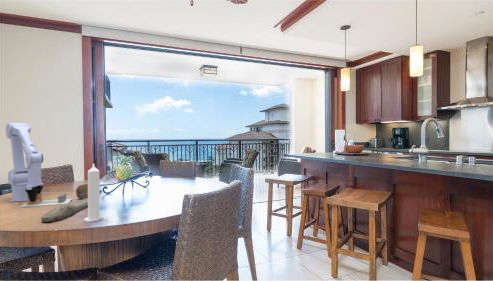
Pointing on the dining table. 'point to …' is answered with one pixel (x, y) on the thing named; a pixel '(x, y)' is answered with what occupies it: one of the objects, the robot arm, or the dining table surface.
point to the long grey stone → (64, 211)
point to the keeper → (38, 199)
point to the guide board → (50, 202)
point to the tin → (82, 191)
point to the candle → (93, 195)
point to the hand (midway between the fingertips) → (34, 200)
